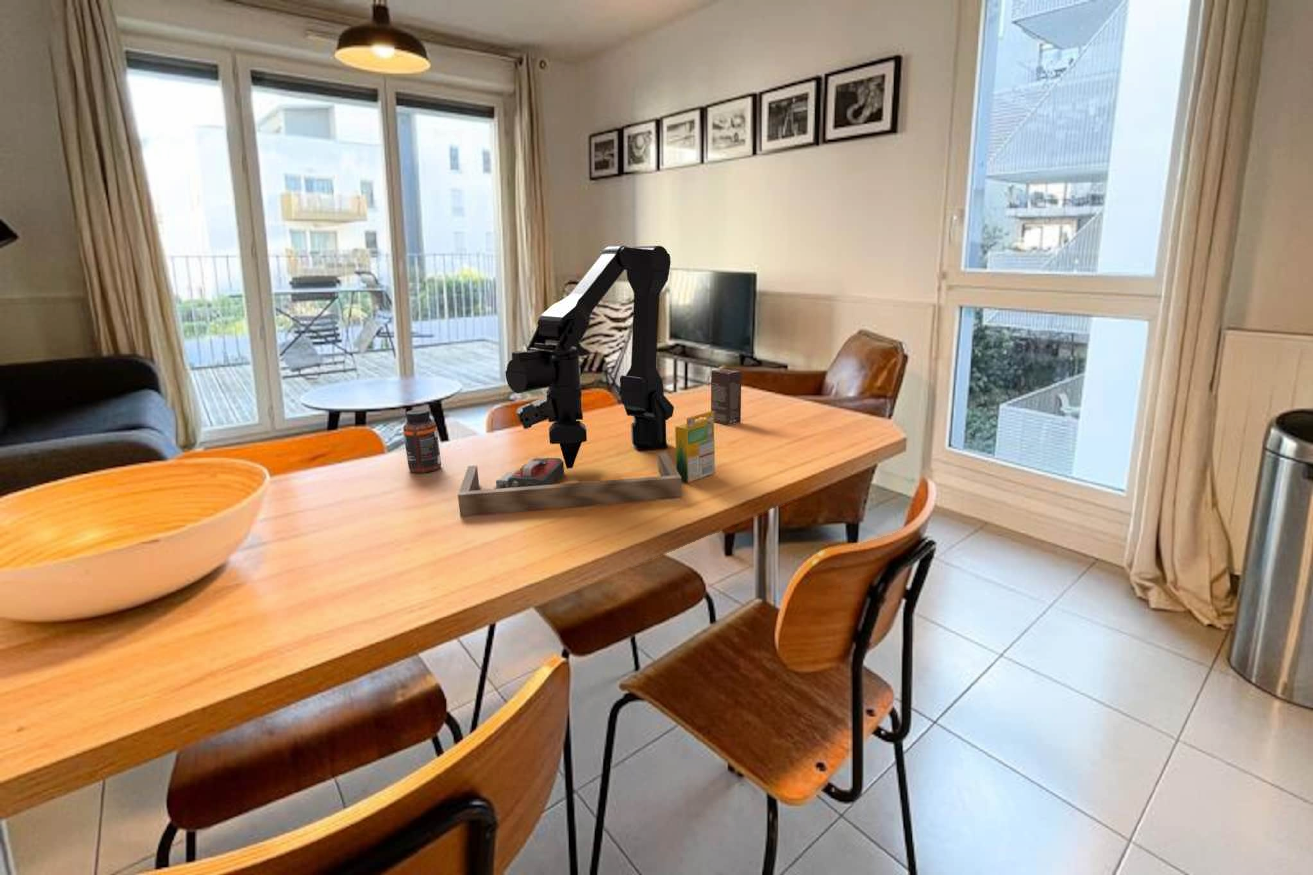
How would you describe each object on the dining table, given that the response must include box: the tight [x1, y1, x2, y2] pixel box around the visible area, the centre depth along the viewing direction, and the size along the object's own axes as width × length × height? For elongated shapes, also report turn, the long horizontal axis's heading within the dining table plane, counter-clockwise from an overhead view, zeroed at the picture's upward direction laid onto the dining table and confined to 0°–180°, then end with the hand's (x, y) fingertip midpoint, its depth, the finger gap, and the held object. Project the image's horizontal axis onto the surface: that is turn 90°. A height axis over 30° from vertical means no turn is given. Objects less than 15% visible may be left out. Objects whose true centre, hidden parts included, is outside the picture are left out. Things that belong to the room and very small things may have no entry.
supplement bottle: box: [402, 408, 442, 474], centre depth 126 cm, size 6×6×11 cm
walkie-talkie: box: [493, 457, 565, 489], centre depth 115 cm, size 9×4×20 cm
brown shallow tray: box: [457, 451, 683, 517], centre depth 113 cm, size 35×14×4 cm, turn 99°
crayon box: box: [674, 410, 716, 484], centre depth 117 cm, size 7×3×12 cm, turn 134°
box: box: [710, 368, 742, 426], centre depth 154 cm, size 6×4×12 cm
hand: (569, 467), depth 122 cm, fingers closed
